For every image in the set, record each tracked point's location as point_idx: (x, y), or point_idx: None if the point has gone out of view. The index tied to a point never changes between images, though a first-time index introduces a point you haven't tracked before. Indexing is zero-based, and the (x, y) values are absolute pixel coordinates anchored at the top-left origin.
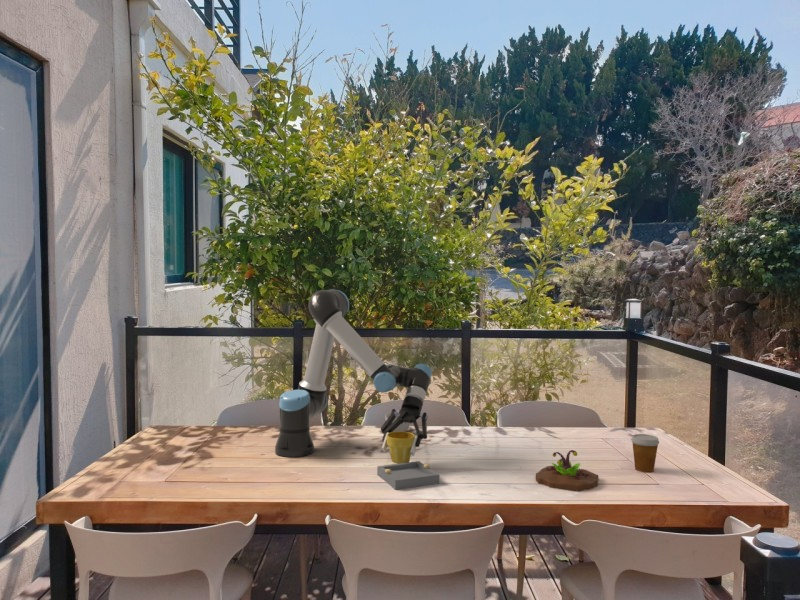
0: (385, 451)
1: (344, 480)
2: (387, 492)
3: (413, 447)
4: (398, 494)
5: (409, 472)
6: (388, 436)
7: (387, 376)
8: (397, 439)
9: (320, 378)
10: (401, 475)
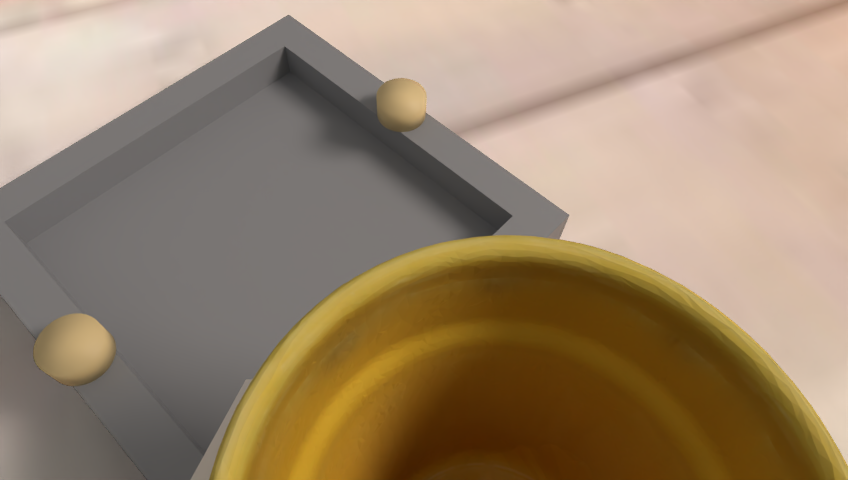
0: None
1: (679, 86)
2: (328, 21)
3: (225, 420)
4: (255, 17)
5: (269, 294)
6: (693, 294)
7: None
8: (467, 239)
9: None
10: (315, 204)
